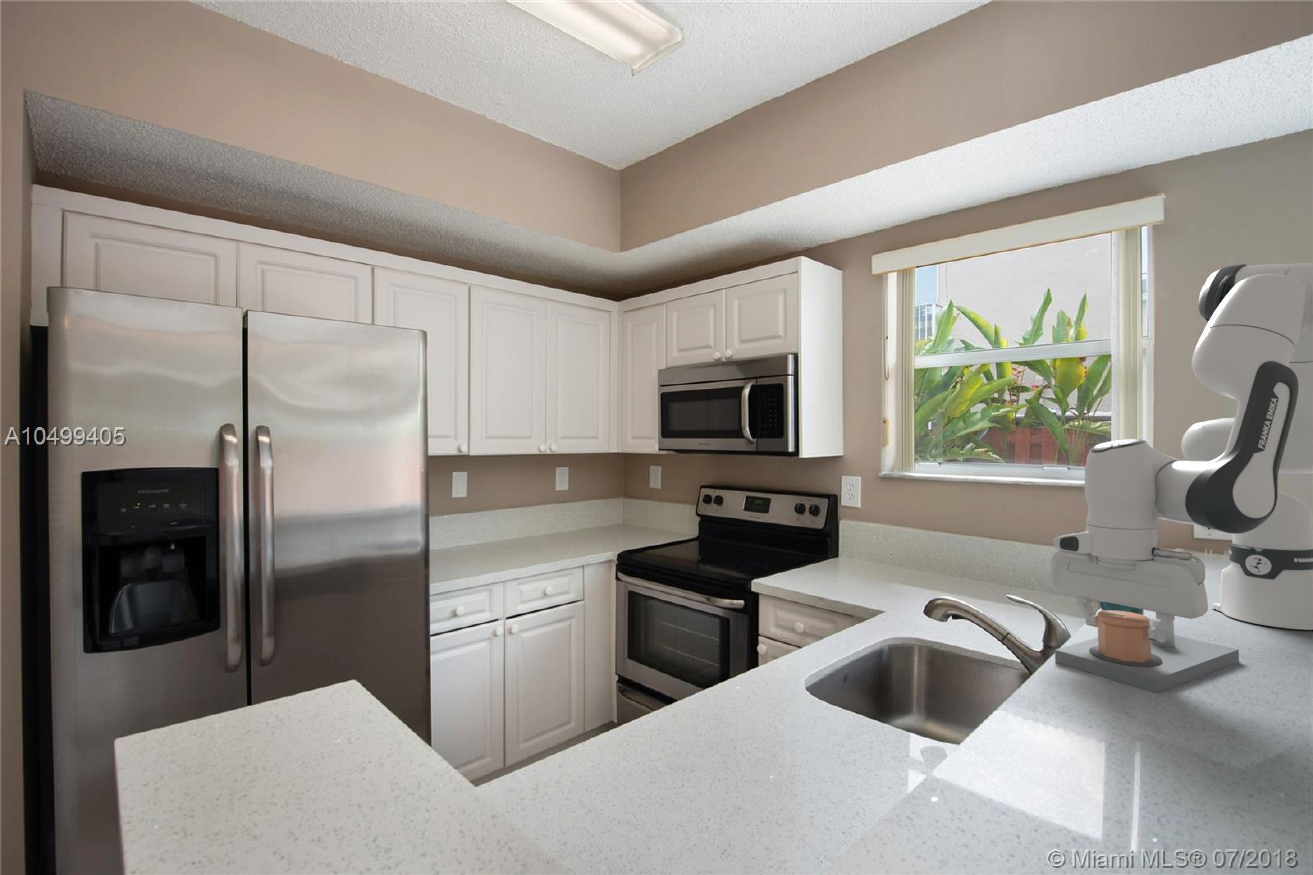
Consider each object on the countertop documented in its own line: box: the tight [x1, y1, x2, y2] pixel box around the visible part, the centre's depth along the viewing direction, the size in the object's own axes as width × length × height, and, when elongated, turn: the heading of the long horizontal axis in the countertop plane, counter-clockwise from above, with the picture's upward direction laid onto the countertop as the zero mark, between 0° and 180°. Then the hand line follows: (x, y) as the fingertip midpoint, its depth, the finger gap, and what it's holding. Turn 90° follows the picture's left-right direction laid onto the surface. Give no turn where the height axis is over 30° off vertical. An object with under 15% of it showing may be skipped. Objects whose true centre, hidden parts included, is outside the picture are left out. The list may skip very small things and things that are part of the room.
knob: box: [1097, 609, 1151, 662], centre depth 95 cm, size 6×6×6 cm
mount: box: [1054, 616, 1240, 694], centre depth 97 cm, size 24×14×6 cm, turn 116°
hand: (1124, 633), depth 95 cm, fingers open, 7 cm apart
